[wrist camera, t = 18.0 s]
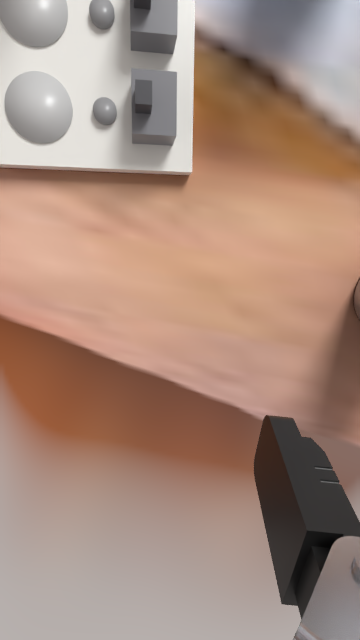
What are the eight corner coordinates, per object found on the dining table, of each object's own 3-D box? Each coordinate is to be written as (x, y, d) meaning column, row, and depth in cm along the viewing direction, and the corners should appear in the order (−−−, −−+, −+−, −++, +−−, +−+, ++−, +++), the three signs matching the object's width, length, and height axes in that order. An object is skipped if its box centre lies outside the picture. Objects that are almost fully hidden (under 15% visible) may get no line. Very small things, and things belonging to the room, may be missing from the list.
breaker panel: (194, -131, 31) (210, -227, 25) (189, 175, 36) (201, 159, 30) (-44, -170, 28) (-94, -289, 22) (-12, 167, 34) (-45, 148, 27)
